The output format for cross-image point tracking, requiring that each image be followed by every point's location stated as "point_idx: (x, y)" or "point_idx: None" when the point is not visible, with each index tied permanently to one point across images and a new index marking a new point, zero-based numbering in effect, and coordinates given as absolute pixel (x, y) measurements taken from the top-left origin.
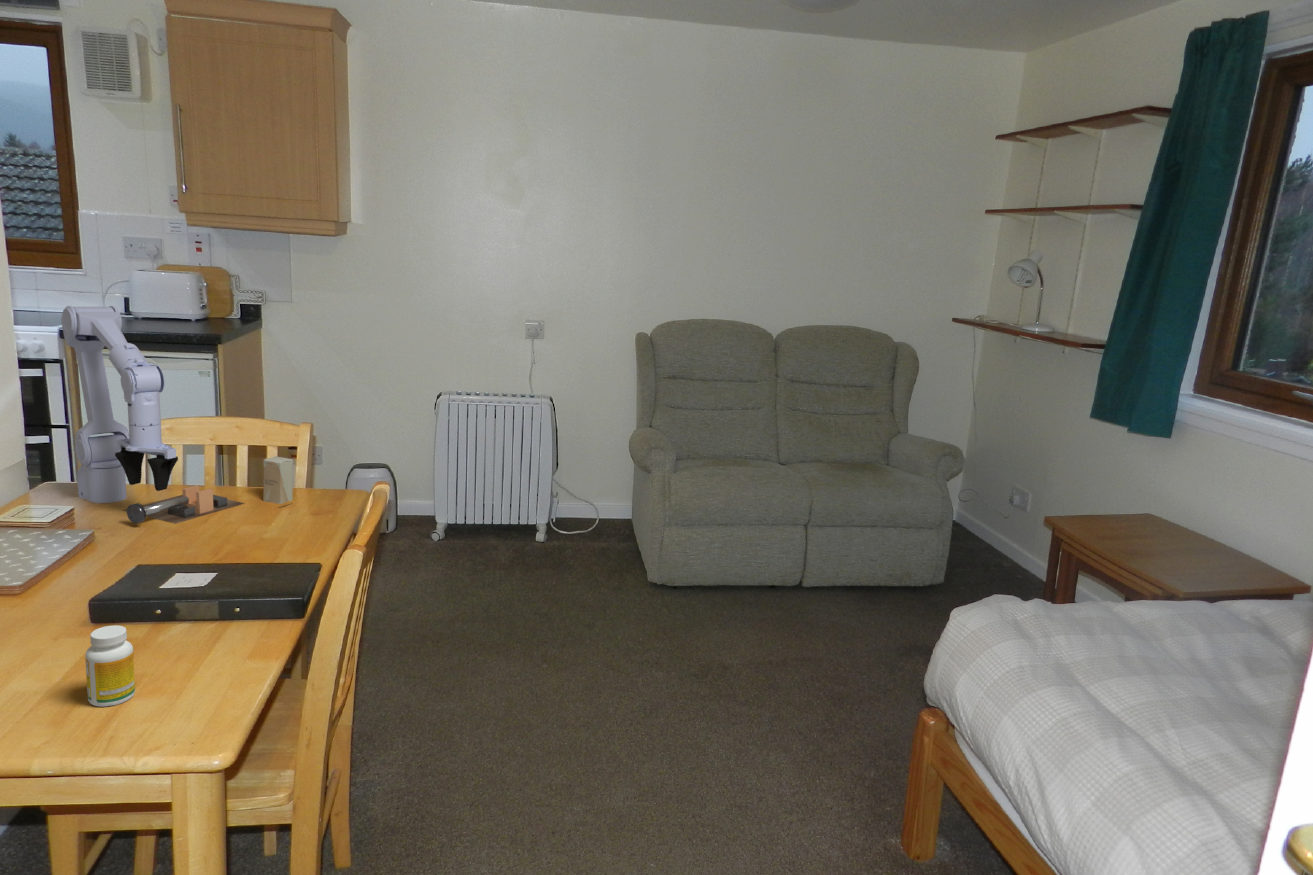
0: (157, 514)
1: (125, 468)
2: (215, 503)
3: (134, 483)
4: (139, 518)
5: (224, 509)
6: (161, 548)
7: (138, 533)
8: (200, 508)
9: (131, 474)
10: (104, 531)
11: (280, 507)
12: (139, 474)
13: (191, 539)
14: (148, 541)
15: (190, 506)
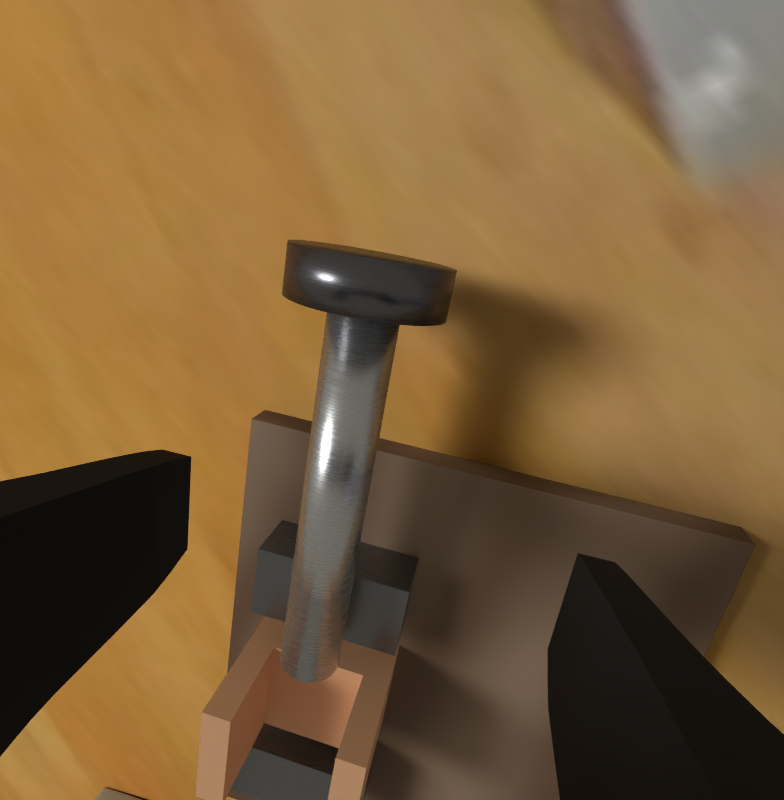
0: (469, 533)
1: (718, 722)
2: (266, 728)
3: (567, 590)
4: (317, 242)
5: None
6: (63, 75)
7: (372, 248)
8: (256, 630)
9: (606, 665)
10: (603, 189)
11: (103, 789)
12: (563, 741)
13: (62, 279)
14: (212, 146)
15: (276, 612)
